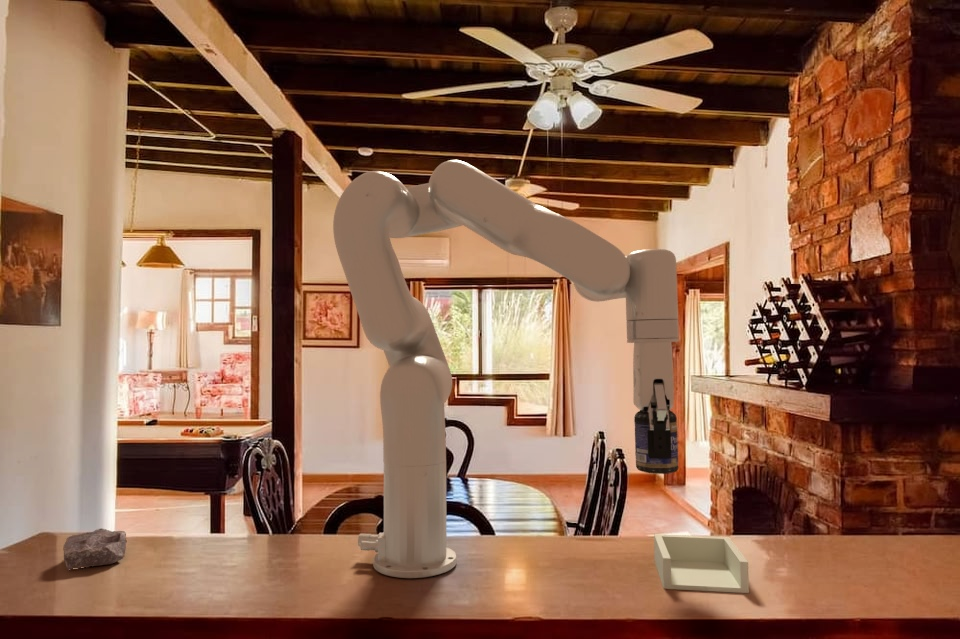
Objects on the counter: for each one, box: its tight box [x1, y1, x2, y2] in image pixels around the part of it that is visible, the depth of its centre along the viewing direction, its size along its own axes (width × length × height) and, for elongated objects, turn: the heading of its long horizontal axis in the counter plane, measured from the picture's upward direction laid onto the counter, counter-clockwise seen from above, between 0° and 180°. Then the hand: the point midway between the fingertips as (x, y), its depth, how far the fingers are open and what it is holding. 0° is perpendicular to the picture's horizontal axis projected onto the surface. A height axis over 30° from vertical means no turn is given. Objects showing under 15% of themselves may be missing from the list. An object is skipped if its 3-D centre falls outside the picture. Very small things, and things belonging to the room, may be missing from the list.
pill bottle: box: [633, 399, 680, 475], centre depth 95 cm, size 6×6×11 cm
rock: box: [62, 528, 127, 571], centre depth 100 cm, size 8×11×5 cm
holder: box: [653, 533, 750, 594], centre depth 91 cm, size 11×11×4 cm
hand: (656, 452), depth 95 cm, fingers closed on pill bottle, 6 cm apart
